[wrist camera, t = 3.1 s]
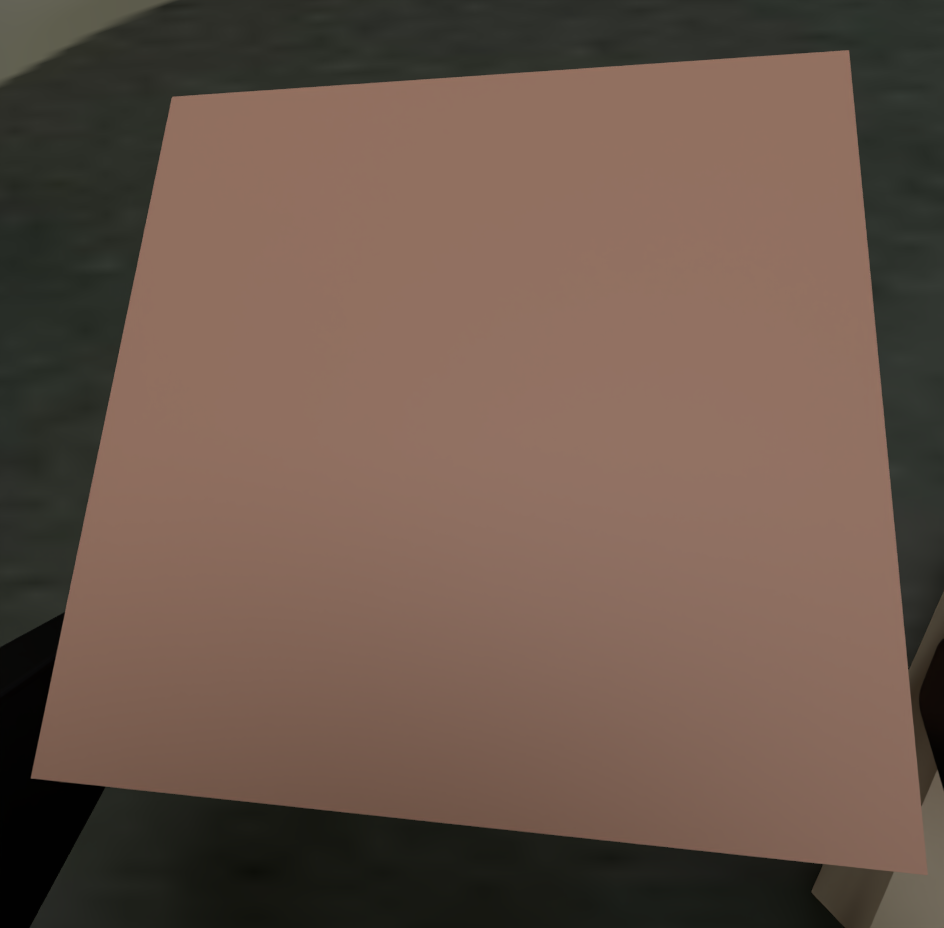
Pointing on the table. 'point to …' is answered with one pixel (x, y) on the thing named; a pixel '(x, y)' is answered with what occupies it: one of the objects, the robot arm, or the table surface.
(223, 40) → the table surface
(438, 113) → the column
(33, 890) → the robot arm
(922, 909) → the slab
